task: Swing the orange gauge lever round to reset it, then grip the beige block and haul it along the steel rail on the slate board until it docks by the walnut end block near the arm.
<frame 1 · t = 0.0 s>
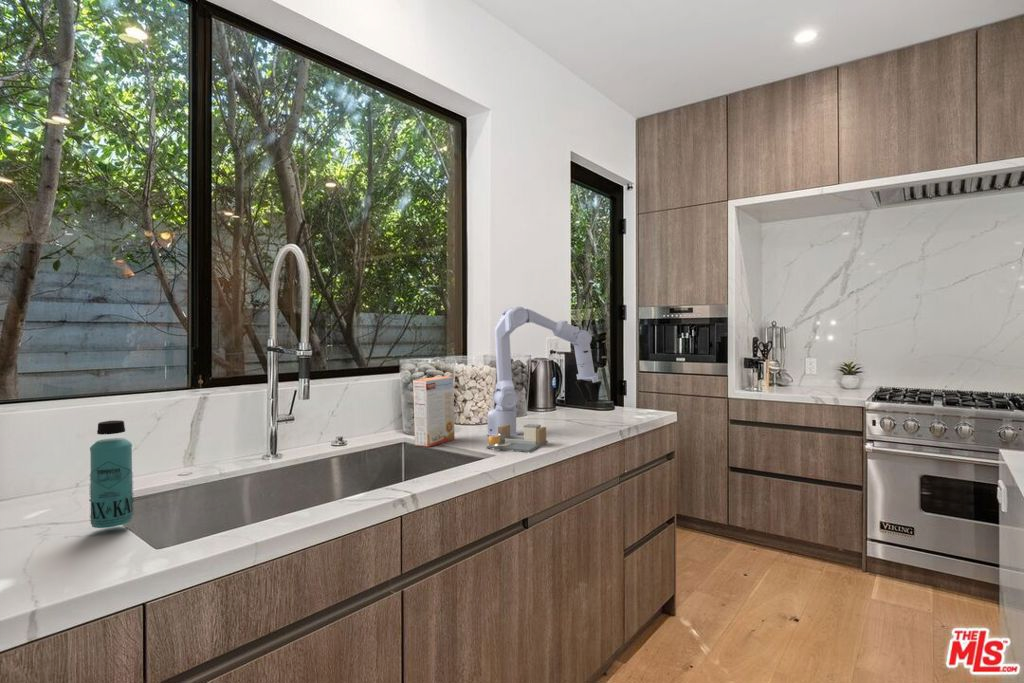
hand: (590, 400, 199), 11 cm above the worktop, tool pointing down, fingers open, 7 cm apart
cracker box: (434, 443, 179), on the worktop
beverage bottle: (112, 531, 101), on the worktop
gauge dial: (501, 447, 171), resting on rail board
gauge lever: (494, 439, 167), point 3 cm above the worktop, hinge at 0.0°
beige block: (532, 433, 174), point 4 cm above the worktop, slide at 0.0 cm
rail board: (517, 445, 172), on the worktop
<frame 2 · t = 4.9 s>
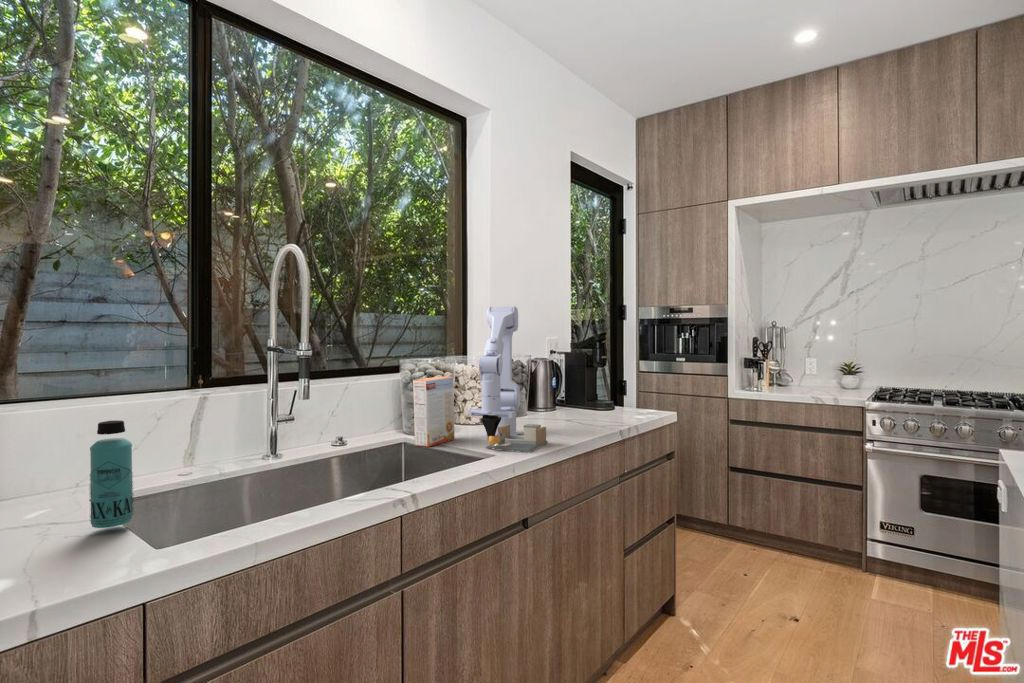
hand: (491, 440, 168), 3 cm above the worktop, tool pointing down, fingers closed, pressing on gauge lever
gauge lever: (494, 439, 167), point 3 cm above the worktop, hinge at 0.0°, touching gripper
everything else where it was.
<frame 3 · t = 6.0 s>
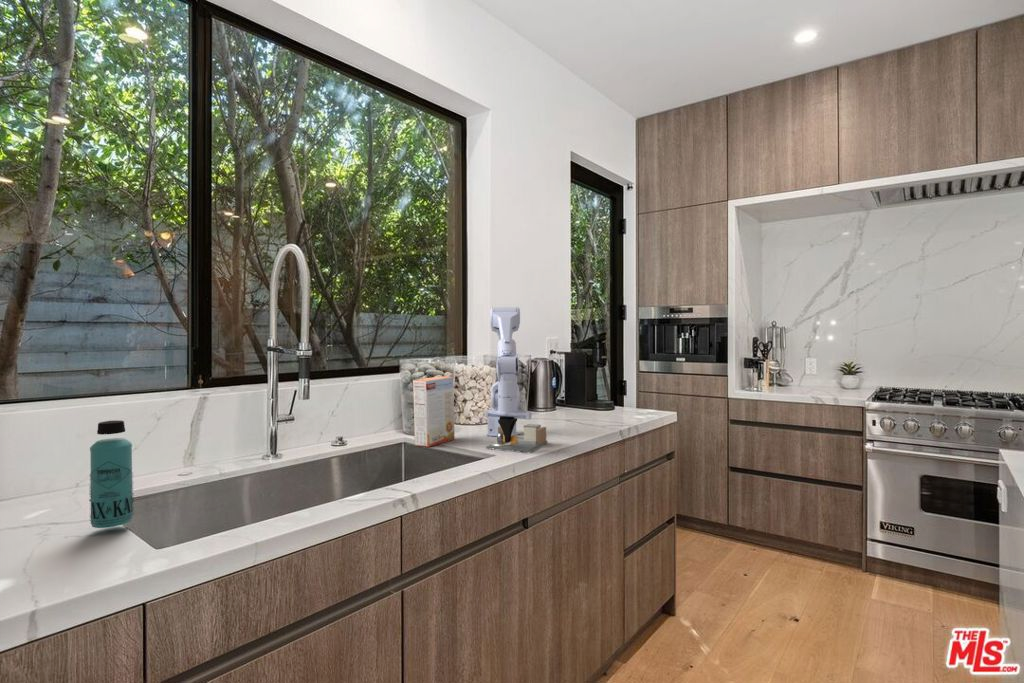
hand: (508, 442, 165), 3 cm above the worktop, tool pointing down, fingers closed, pressing on gauge lever
gauge lever: (510, 438, 167), point 3 cm above the worktop, hinge at 64.6°, touching gripper
everything else where it was.
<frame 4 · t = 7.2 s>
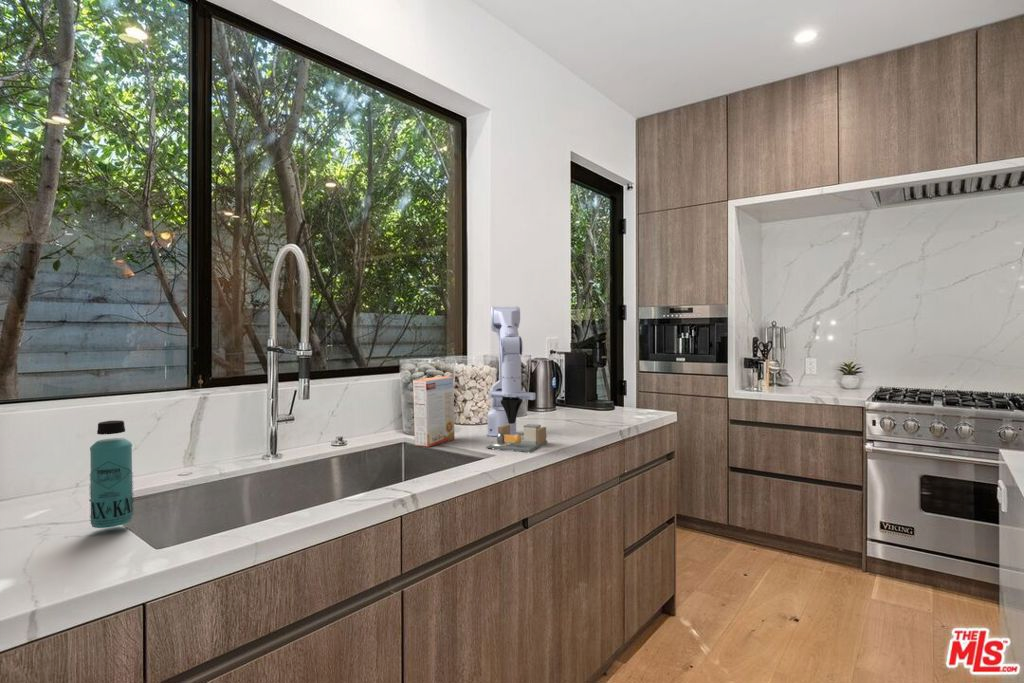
hand: (511, 423, 165), 8 cm above the worktop, tool pointing down, fingers closed
gauge lever: (512, 438, 168), point 3 cm above the worktop, hinge at 77.1°
everything else where it was.
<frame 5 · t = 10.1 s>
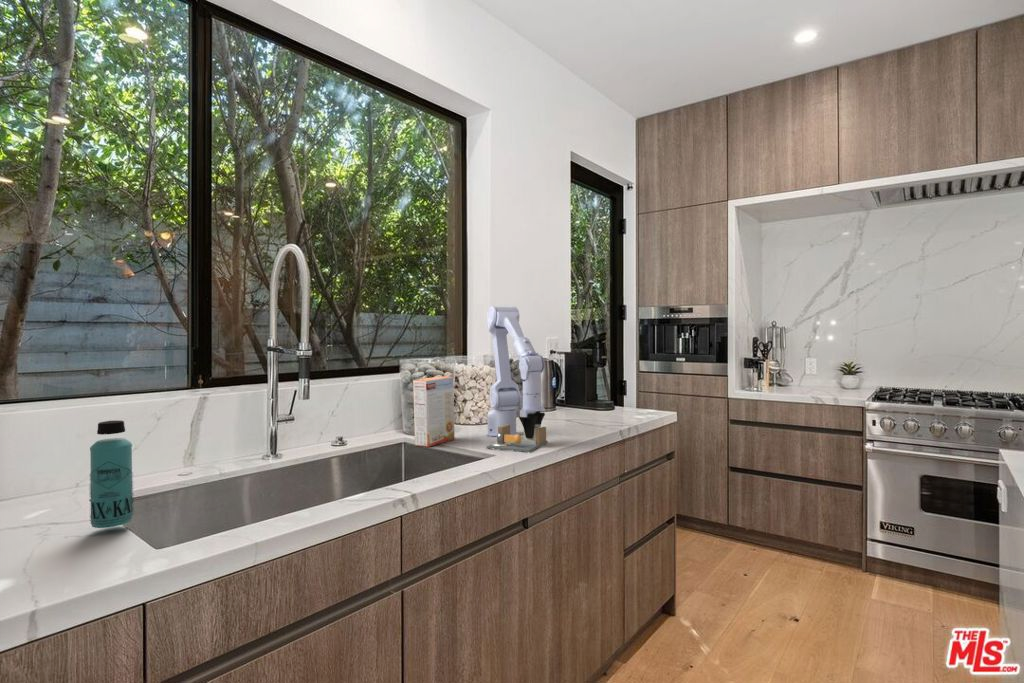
hand: (532, 436, 174), 2 cm above the worktop, tool pointing down, fingers closed on beige block, 4 cm apart
beige block: (532, 433, 174), point 4 cm above the worktop, slide at 0.0 cm, touching gripper
everything else where it was.
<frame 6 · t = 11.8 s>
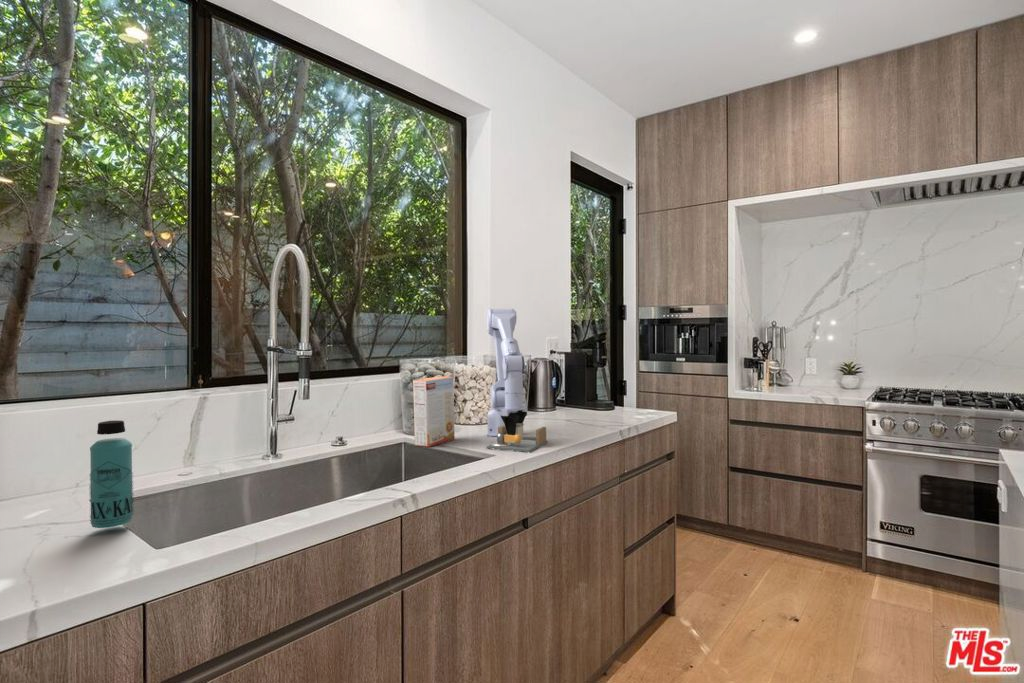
hand: (514, 435, 177), 2 cm above the worktop, tool pointing down, fingers closed on beige block, 4 cm apart
beige block: (515, 431, 177), point 4 cm above the worktop, slide at 5.9 cm, touching gripper
everything else where it was.
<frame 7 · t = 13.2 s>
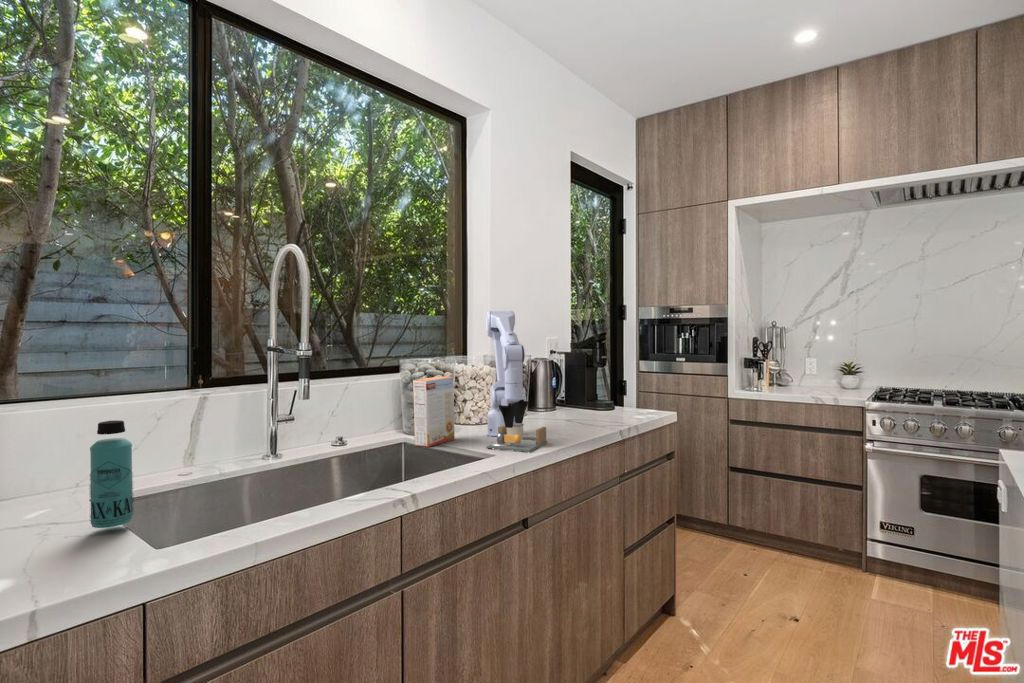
hand: (514, 425, 177), 6 cm above the worktop, tool pointing down, fingers open, 7 cm apart
beige block: (515, 431, 177), point 4 cm above the worktop, slide at 5.9 cm
everything else where it was.
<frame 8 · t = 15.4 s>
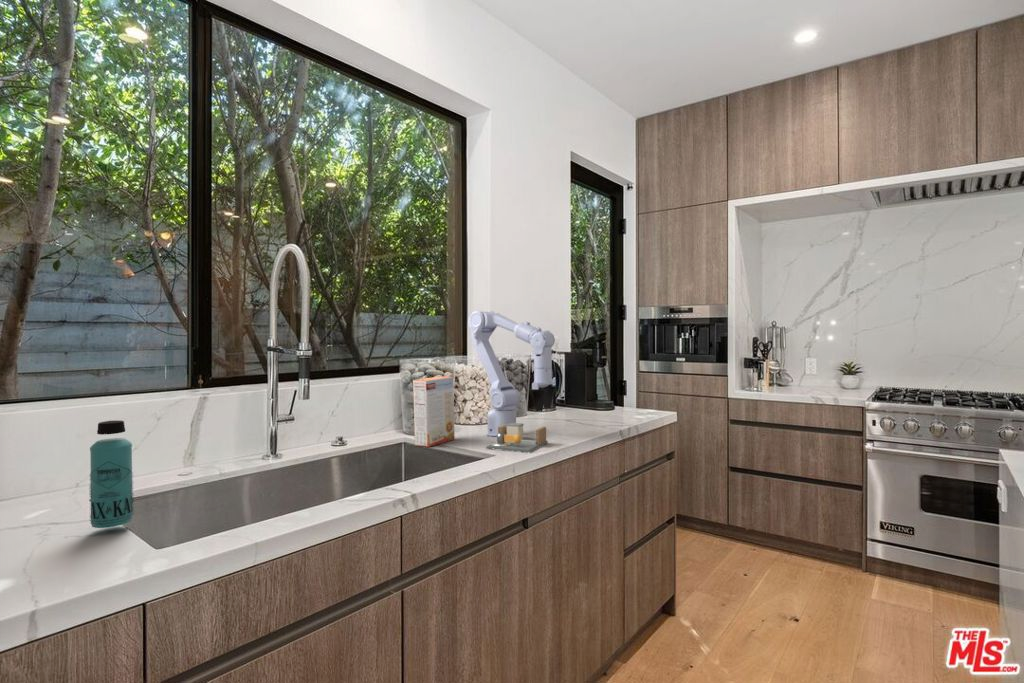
hand: (543, 409, 182), 10 cm above the worktop, tool pointing down, fingers open, 7 cm apart
nothing on the worktop moved.
at the end: beige block slide at 5.9 cm; gauge lever at +77° (first picture: +0°); the gripper is holding nothing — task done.
